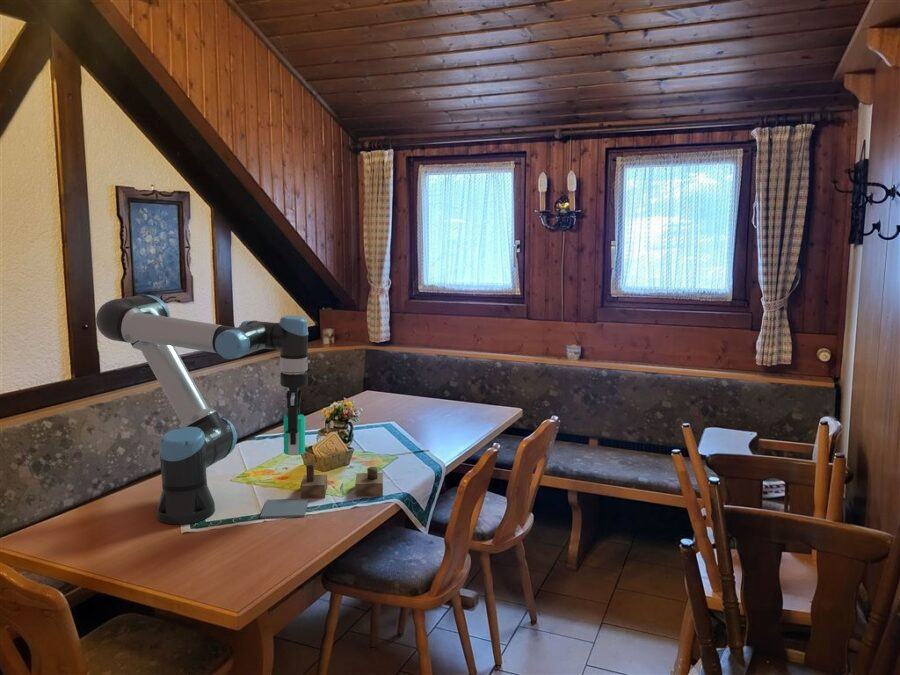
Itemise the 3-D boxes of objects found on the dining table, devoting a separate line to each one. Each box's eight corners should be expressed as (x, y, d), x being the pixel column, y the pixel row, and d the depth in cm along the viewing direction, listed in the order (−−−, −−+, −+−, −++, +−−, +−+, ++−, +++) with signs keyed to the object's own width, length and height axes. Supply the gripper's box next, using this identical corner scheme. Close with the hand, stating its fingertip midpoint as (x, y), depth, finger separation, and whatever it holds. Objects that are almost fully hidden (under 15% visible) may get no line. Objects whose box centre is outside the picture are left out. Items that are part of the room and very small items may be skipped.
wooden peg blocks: (300, 498, 212) (299, 469, 211) (304, 487, 221) (303, 459, 219) (382, 496, 214) (382, 467, 213) (382, 485, 223) (382, 457, 222)
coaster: (260, 518, 198) (260, 516, 198) (267, 501, 210) (267, 499, 210) (304, 516, 199) (304, 514, 199) (308, 500, 211) (308, 498, 211)
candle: (300, 456, 202) (300, 414, 200) (280, 454, 203) (280, 413, 201) (308, 449, 208) (308, 409, 206) (288, 447, 209) (288, 407, 207)
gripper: (305, 379, 193) (305, 461, 197) (309, 364, 211) (309, 440, 215) (276, 379, 192) (277, 462, 196) (283, 364, 210) (283, 440, 214)
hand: (294, 450), depth 205 cm, fingers closed on candle, 6 cm apart
